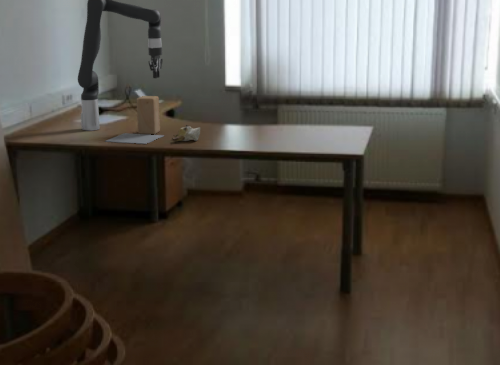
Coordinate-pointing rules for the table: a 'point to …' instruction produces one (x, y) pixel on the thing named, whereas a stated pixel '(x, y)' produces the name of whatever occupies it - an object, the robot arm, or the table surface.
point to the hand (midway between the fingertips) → (156, 77)
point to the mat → (134, 138)
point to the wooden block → (148, 115)
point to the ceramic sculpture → (187, 134)
